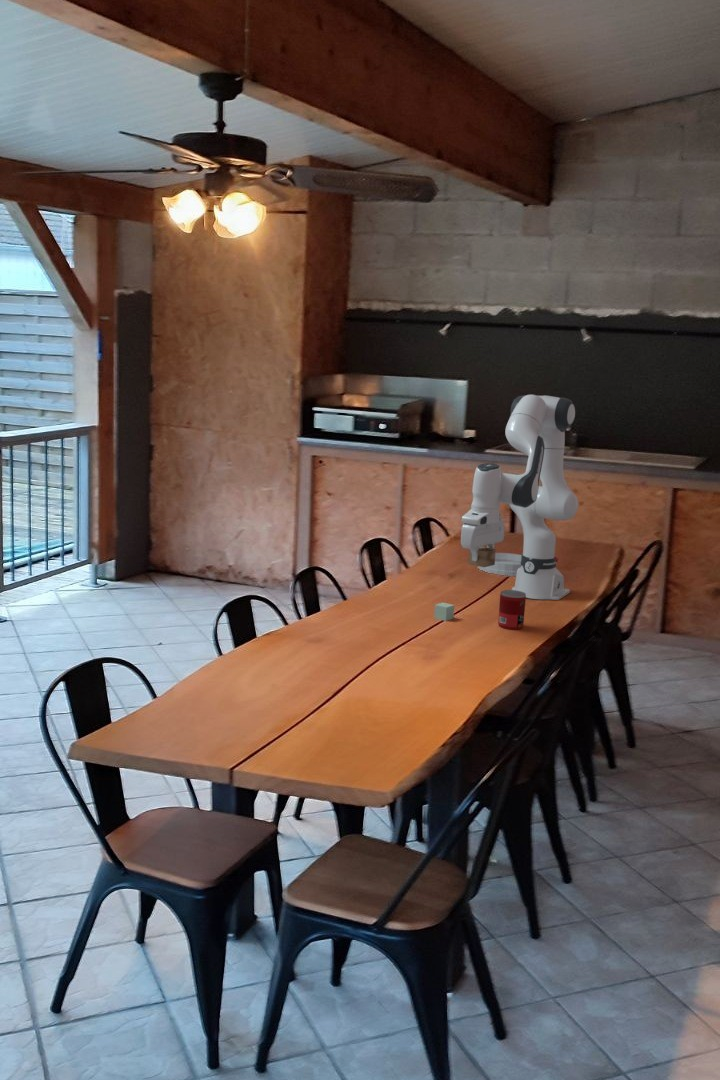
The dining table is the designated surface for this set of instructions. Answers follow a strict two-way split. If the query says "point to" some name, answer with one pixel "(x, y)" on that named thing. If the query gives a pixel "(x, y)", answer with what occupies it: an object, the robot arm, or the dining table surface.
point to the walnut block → (483, 557)
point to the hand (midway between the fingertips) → (481, 559)
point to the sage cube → (444, 611)
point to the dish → (504, 564)
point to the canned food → (511, 609)
